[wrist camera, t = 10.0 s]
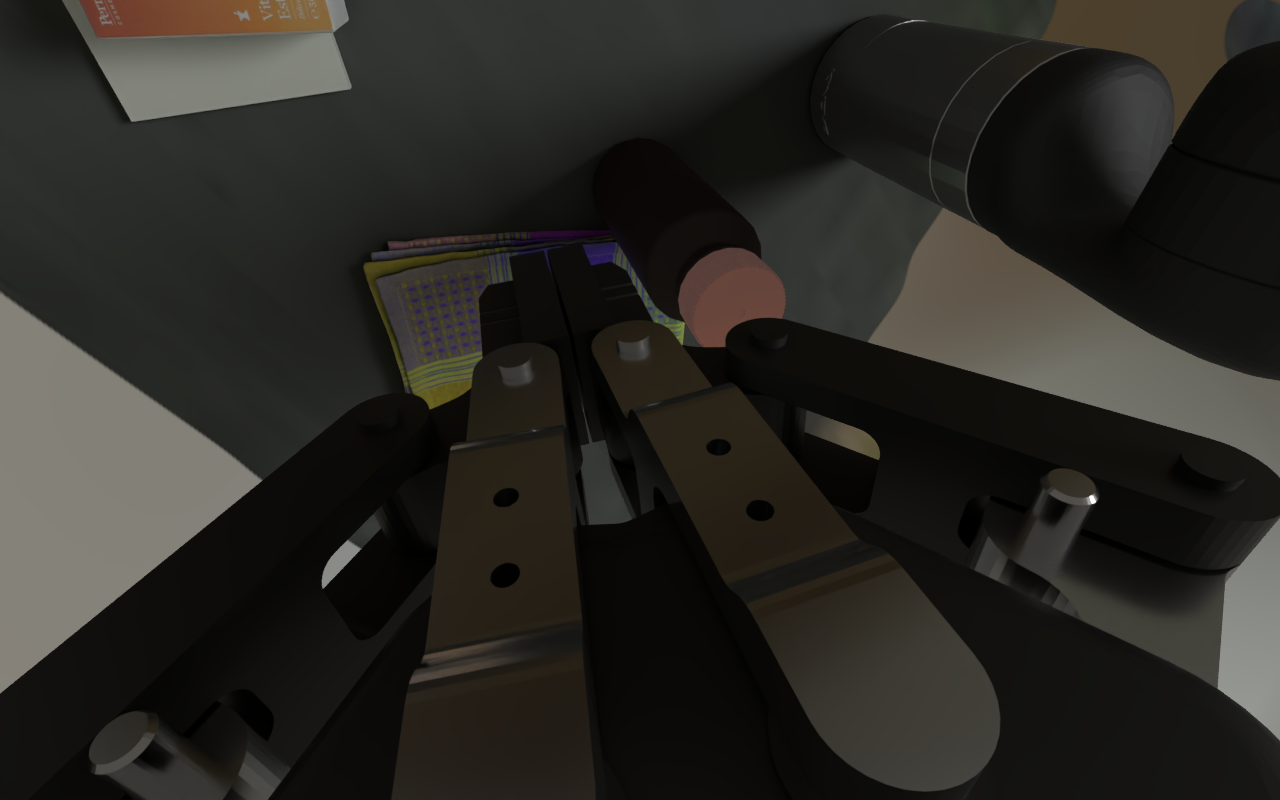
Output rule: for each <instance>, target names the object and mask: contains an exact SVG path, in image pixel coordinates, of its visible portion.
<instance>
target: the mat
mask: <svg viewBox="0 0 1280 800" xmlns="http://www.w3.org/2000/svg"><path fill="white" fill-rule="evenodd" d="M62 1H63V3H64V5H65V6H66V8H67V10H68V11H69V13H70V15H71V17H72V18H73V20H74V22H75V24H76V25H77V27H78V29H79V31H80V32H81V34H82V36H83V38H84V39H85V41H86V43H87V45H88V46H89V48H90V50H91V52H92V53H93V55H94V57H95V59H96V60H97V62H98V64H99V66H100V67H101V69H102V71H103V73H104V74H105V76H106V78H107V80H108V81H109V83H110V85H111V87H112V88H113V90H114V92H115V93H116V95H117V97H118V99H119V100H120V102H121V104H122V106H123V107H124V109H125V111H126V113H127V114H128V116H129V118H130V120H131V121H132V122H135V121H142V120H148V119H155V118H162V117H168V116H175V115H181V114H188V113H195V112H201V111H208V110H215V109H221V108H228V107H235V106H241V105H248V104H255V103H261V102H268V101H275V100H281V99H288V98H295V97H301V96H308V95H315V94H321V93H328V92H335V91H341V90H348V89H351V87H352V86H351V83H350V80H349V77H348V75H347V72H346V69H345V66H344V63H343V60H342V57H341V55H340V52H339V49H338V46H337V43H336V40H335V38H334V35H333V33H312V34H283V35H251V36H220V37H187V38H159V39H128V40H101V39H98V38H96V36H95V34H94V31H93V29H92V27H91V25H90V23H89V21H88V18H87V16H86V14H85V12H84V10H83V8H82V6H81V4H80V1H79V0H62Z"/></svg>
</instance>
